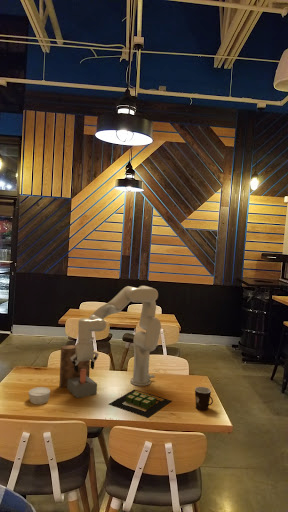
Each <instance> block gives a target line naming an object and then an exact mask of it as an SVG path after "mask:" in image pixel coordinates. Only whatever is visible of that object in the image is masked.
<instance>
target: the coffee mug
mask: <svg viewBox="0 0 288 512" xmlns="http://www.w3.org/2000/svg"><path fill="white" fill-rule="evenodd" d="M211 393H212V389H211V388H209V387H205V386H196V387H195V388H194V395H195V396H194V397H195V409H196V410H197V411H202V412H206V411H208V410H209V406H211V405H212V404H213V402H214V400H213V397H212V396H211ZM210 400H211V402H210Z"/></svg>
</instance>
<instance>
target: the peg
mask: <svg viewBox="0 0 288 512" xmlns="http://www.w3.org/2000/svg"><path fill="white" fill-rule="evenodd" d="M83 383H86V369H81V370H80V384H83Z"/></svg>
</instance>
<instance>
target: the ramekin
mask: <svg viewBox="0 0 288 512" xmlns="http://www.w3.org/2000/svg"><path fill="white" fill-rule="evenodd" d="M50 394H51V389H50V388H48V387H45V386H37V387H33V388H31V389H30V390H28V397H29V402H30V403H31V404H34V405H43V404H45V403H47V402H49V400H50Z"/></svg>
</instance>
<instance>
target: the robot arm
mask: <svg viewBox="0 0 288 512" xmlns="http://www.w3.org/2000/svg"><path fill="white" fill-rule="evenodd" d="M158 299H159V292H158V290H157V289H156V288H153V287H151V286H147V285H140V286H138V287H134V286H129V285H127V286H125V287H124V288H122V289H121V290H120V291H119V292H118V293H117V294H116V295H115V296H114V297H113V298H112V299H111V300H110V301H108V302H107V303H105V304H104V305H101V306H100V307H98V308H97V309H95V311H94V312H93V313H91V315H89V317H87V318H86V317H85V318H80V319H79V320H78V323H77V325H78V328H77V329H78V330H77V331H78V332H77V340H78V341H77V342H76V344H75V345H76V349H75V355H73V356H72V357H70V360H71V362H72V363H73V364H74V370H75V371H76V372H78V365H77V364H78V363H79V362H81V361H87V360H90V369H91V370H95V363H96V361H97V360H98V357H99V355H100V354H99V353H98V352H96V351H94V343H93V340H94V339H95V338H94V337H92V336H93V335H92V332H95V333H96V332H99V333H100V332H103V331H104V330H105V329H106V328H107V321H106V320H105V319H106V318H107V317H108V316H110V315H114V314H118V313H121V311H122V310H124V308H126V307H127V305H129V304H130V302H132V303H135V304H136V303H137V304H139V303H141V304H142V307H141V312H140V317H139V321H138V322H139V323H138V325H139V327H140V328H141V329H142V330H140V331H137V332H136V333H135V334H134V336H133V352H134V353H133V355H134V356H133V369H132V370H133V374H132V378H131V379H129V380H130V381H129V382H130V383H131V384H132V385H134V386H137V387H138V386H139V387H143V386H144V387H145V386H148V385H150V384H151V382H152V381H151V379H154V378H155V377H156V374H151V373H149V371H150V352H153V351H155V350H156V348H157V347H158V343H159V339H160V334H161V329H162V325H161V324H162V323H161V321H160V320H159V319H158V318H157V317H155V316H156V310H157V303H156V300H158ZM143 330H144V331H143ZM74 358H75V359H76V360H75V361H74V360H73V359H74Z"/></svg>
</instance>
